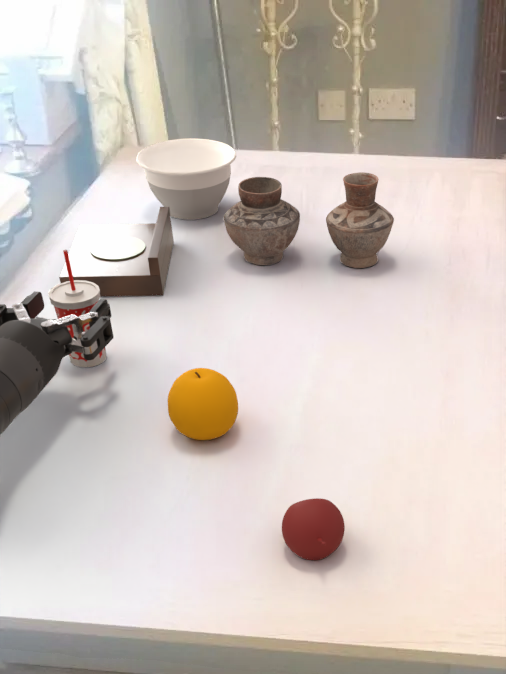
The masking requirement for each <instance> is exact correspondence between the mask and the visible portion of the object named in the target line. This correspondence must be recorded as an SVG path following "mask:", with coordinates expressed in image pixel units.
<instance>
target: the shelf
mask: <svg viewBox="0 0 506 674" xmlns="http://www.w3.org/2000/svg"><path fill="white" fill-rule="evenodd" d="M74 235H75V236H74V238H73V241H72V243H71V246H70V247H69V251H68V256H69V261H70V266H71V270H72V275H73V280H84V281H89V282H93V283H95V284H96V285H98V286H99V289H100V296H101V297H102V298H104V297H105V298H106V297H108V298H110V297H151V296H153V297H154V296H155V297H157V296H159V297H160V296H161V297H162V296H164V293H165V289H166V283H167V278H168V273H169V268H170V264H171V258H172V253H173V248H174V243H175V242H174V233H173V226H172V217H171V216H170V209H169V207H164V206H159V209H158V213H157V217H156V222H155V223H154V222H153V223H107V224H106V223H104V224H103V223H101V224H100V223H99V224H79V225H78V228H77V231H76V233H75V234H74ZM58 277H59V284H60V283H63V282H67V281H70V280H69V275H68V271H67V266H66V261H64V264H63V266H62V268H61V272H60V274H59V276H58ZM101 297H100V298H101Z"/></svg>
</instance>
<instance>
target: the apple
mask: <svg viewBox="0 0 506 674" xmlns="http://www.w3.org/2000/svg"><path fill="white" fill-rule="evenodd" d="M167 413H168V417H169V419H170V421H171V423H172V424H173V426H174V427H175V429H176V430H177V431H178V432H179V434H182V435H183V436H185V437H186V438H189V439H191V440H192V439H193V440H195V441H209V440H214V439H218V438H220V437H222V436H223V435H225V434H227V433H228V432H229V431H230V430H231V429H232V428H233V426H234V425H235V423H236V420H237V417H238V414H239V401H238V396H237V391H236V389H235V387H234V385H233V384H232V383H231V382H230V380H229V379H228V378H227V377H226V376H225V375H224V374H222V373H220V372H219V371H217V370H215V369H211V368H207V367H196V368H191V369H189V370H186V371H184V372H182V373H181V375H179V376H178V377H176V378H175V380H174V381H173V383H172V385H171V387H170V389H169V390H168V395H167Z"/></svg>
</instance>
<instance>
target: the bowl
mask: <svg viewBox="0 0 506 674" xmlns="http://www.w3.org/2000/svg"><path fill="white" fill-rule="evenodd" d="M236 159H237V152H236V150H235V148H233V147H232V146H231V145H229V144H227V143H225V142H222V141H218V140H215V139H208V138H194V137H191V138H174V139H168V140H163V141H159V142H156V143H153V144H150V145H147V146H146V147H144V148H142V149H141V150H140V151H139V152H137V155H136V158H135V161H136V164H137V165H138V166H139V167H140V168H141V169H143V171H144V176H145V179H146V182H147V184H148V187H149V189H150V191H151V192H152V193H153V195H154V197H155V198H156V199H157V201H158V202H159V203H160V204H161V205H162V207H169V209H170V217H171V218H174V219H177V220H178V219H179V220H186V221H187V220H188V221H190V220H191V221H192V220H193V221H195V220H201V219H206V218H209V217H211V216H214V215H215V214H217V212H218V211H219V206H220V204H221V202H222V200H223V199H224V197H225V195H226V192H227V191H228V187H229V186H230V181H231V175H232V168H231V167H232V165H231V164H232V163H234V162H235V161H236Z"/></svg>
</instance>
